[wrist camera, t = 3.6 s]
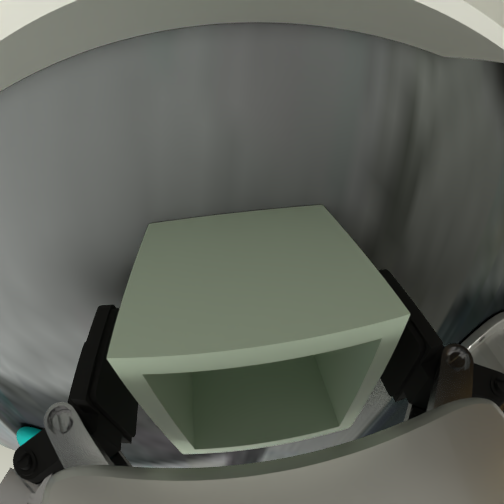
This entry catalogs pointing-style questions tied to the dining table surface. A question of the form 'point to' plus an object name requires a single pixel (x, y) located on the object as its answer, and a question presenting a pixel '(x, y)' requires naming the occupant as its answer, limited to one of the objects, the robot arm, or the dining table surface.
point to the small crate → (253, 328)
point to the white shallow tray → (239, 11)
